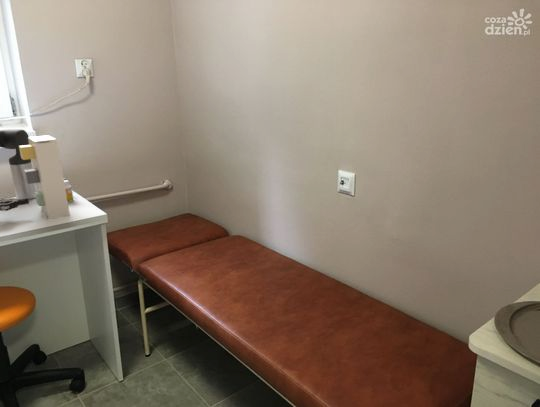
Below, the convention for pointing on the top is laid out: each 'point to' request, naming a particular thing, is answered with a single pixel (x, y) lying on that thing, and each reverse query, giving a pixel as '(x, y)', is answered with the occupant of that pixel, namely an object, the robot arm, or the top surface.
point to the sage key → (39, 198)
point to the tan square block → (27, 152)
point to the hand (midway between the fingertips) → (28, 200)
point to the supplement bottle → (68, 191)
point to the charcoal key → (32, 176)
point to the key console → (50, 176)
